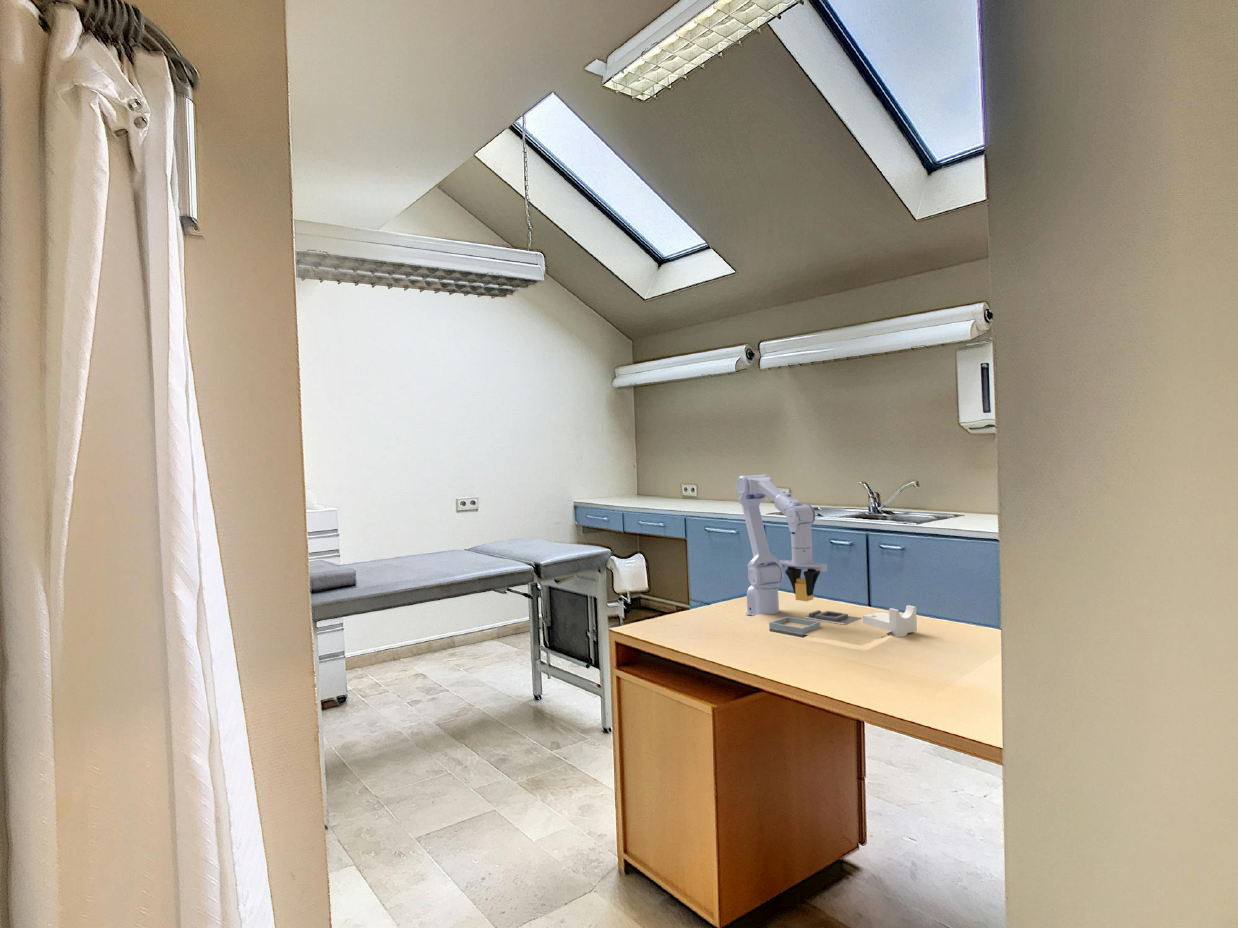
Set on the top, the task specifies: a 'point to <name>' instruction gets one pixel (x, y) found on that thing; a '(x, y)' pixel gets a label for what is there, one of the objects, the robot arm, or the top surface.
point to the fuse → (801, 590)
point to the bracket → (894, 621)
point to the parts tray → (779, 625)
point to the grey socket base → (831, 617)
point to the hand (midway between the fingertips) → (803, 594)
